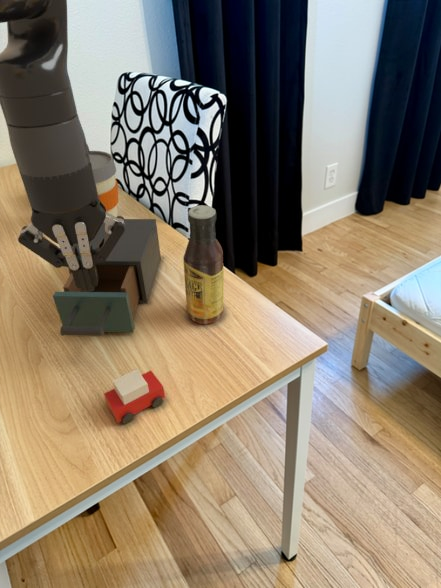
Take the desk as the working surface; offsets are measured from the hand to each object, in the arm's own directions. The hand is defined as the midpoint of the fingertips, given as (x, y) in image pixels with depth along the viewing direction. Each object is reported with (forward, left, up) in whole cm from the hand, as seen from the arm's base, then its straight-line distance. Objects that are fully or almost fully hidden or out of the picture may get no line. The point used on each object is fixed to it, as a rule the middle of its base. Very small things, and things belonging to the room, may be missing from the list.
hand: (89, 287), depth 57 cm
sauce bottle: (+14, +11, -14) cm, 23 cm away
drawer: (-3, +9, -13) cm, 16 cm away
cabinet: (-3, +21, -14) cm, 25 cm away
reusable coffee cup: (-14, +43, -14) cm, 47 cm away
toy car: (+6, -8, -14) cm, 17 cm away
